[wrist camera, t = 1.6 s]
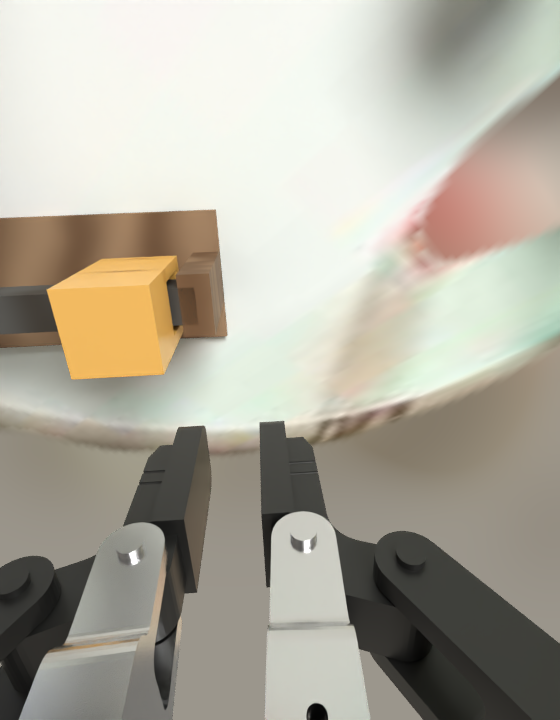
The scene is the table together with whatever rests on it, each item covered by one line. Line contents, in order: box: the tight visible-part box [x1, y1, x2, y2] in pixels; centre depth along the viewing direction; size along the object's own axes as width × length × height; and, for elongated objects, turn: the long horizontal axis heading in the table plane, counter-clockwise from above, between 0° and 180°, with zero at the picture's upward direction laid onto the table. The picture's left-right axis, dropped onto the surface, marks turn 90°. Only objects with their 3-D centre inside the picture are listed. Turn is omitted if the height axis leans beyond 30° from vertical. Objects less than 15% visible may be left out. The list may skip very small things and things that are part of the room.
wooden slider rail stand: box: [0, 210, 227, 348], centre depth 28 cm, size 22×10×9 cm, turn 92°
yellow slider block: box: [47, 256, 183, 379], centre depth 25 cm, size 5×5×8 cm
